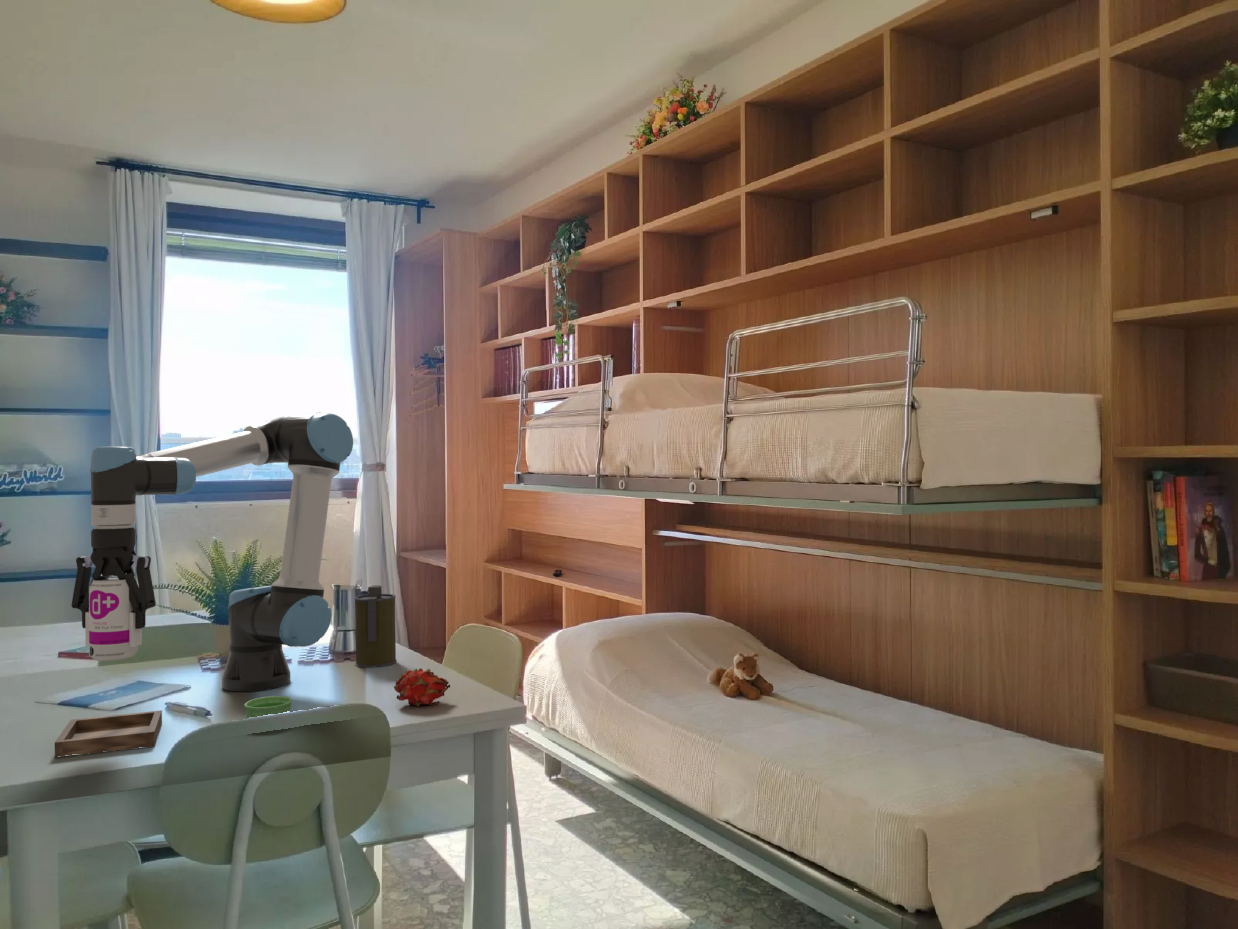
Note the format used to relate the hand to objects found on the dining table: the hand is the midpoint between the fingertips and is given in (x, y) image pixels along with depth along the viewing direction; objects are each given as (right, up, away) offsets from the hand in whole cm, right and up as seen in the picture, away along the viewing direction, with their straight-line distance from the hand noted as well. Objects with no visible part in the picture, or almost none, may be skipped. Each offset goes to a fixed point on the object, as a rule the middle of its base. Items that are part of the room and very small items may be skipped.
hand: (113, 645), depth 176 cm
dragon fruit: (+55, -17, +22) cm, 61 cm away
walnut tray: (0, -18, -1) cm, 18 cm away
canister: (+34, -17, +63) cm, 74 cm away
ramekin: (+26, -18, +9) cm, 33 cm away
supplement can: (0, -2, 0) cm, 2 cm away
